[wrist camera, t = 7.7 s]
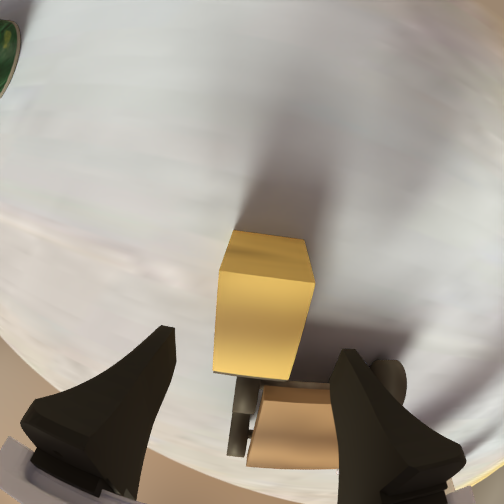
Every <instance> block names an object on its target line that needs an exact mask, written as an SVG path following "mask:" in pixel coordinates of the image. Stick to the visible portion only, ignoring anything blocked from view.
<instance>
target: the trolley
mask: <svg viewBox="0 0 504 504" xmlns="http://www.w3.org/2000/svg"><path fill="white" fill-rule="evenodd" d="M370 369H371V371H372V372H373V373H374V375H375V376H376V377H377V378H378V380H379V381H380V382H381V383H382V384H383V386H384V387H385V388H386V389H387V390H388V391H389V392H390V394H391V395H392V396H393V397H394V398H395V399H396V400H397V401H398V402H399V403H400V404H401V405H403V403H404V400H405V396H406V390H407V378H406V373H405V370H404V367H403V365H402V364H401V363H400V362H399V361H397V360H376V361H374V362H373V363H372V365H371V366H370ZM259 389H261V390H263V393H262V398H261V402H260V406H259V410H258V414H257V418H256V422H255V426H254V430H249V422H250V414H254V413H255V409H256V405H257V399H258V393H259ZM232 412H233V413H232V420H231V427H230V434H229V442H228V449H227V456H235V457H244V456H245V451H246V445H247V439H248V438H250V439H251V442H250V446H249V450H248V454H247V463H246V466H248V467H259V468H274V469H339V454H338V441H337V435H336V429H335V424H334V418H333V412H332V407H331V401H330V383H316V382H300V381H287V380H286V382H284V381H273V380H263V379H255V378H246V377H239V376H237V380H236V387H235V395H234V402H233V410H232Z"/></svg>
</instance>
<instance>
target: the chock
mask: <svg viewBox="0 0 504 504" xmlns="http://www.w3.org/2000/svg"><path fill="white" fill-rule="evenodd" d="M314 287H315V279H314V275H313V272H312V268H311V264H310V260H309V256H308V252H307V249H306V245H305V241H304V240H302V239H295V238H288V237H281V236H274V235H266V234H259V233H252V232H244V231H237V230H233V232H232V235H231V238H230V241H229V244H228V247H227V249H226V252H225V255H224V258H223V261H222V264H221V267H220V269H219V279H218V292H217V306H216V321H215V337H214V354H213V373H218V374H225V375H231V376H239V377H246V378H255V379H263V380H273V381H284V382H286V380H288V379H289V376H290V373H291V370H292V366H293V363H294V360H295V356H296V353H297V350H298V346H299V343H300V339H301V336H302V332H303V329H304V325H305V321H306V318H307V314H308V310H309V306H310V303H311V299H312V295H313V291H314Z"/></svg>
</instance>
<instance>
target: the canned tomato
mask: <svg viewBox="0 0 504 504" xmlns="http://www.w3.org/2000/svg"><path fill="white" fill-rule="evenodd" d="M20 38H21V37H20V30H19V28H18V25H17V24H16V23H15V22H13V21H10V20H1V19H0V98H1V97H2V95H3V94H4V92H5V90H6V88H7V87H8V85H9V83H10V80H11V78H12V76H13V73H14V70H15V67H16V64H17V61H18V56H19V51H20Z"/></svg>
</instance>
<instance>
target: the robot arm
mask: <svg viewBox="0 0 504 504" xmlns="http://www.w3.org/2000/svg"><path fill="white" fill-rule="evenodd" d="M175 365H176V344H175V328H173V327H168V326H163V325H161V326H159V327H158V328H157V329H156V330H155V331H154V332H153V333H152V334H151V335H150V336H149V337H147V338H146V339H145V340H144V341H143V342H142V343H141V344H140V345H138V346H137V347H136V348H135V349H134V350H133V351H131V352H130V353H129V354H128V355H126V356H125V357H124V358H123V359H121V360H120V361H119V362H117V363H116V364H115V365H113V366H112V367H110V368H109V369H107V370H106V371H104V372H102V373H101V374H99V375H97V376H96V377H94V378H92V379H90V380H88V381H86V382H84V383H82V384H80V385H78V386H76V387H73V388H71V389H68V390H66V391H63V392H60V393H57V394H54V395H50V396H46V397H43V398H39V399H35V400H34V401H33V403H32V404H31V405H30V407H29V409H28V410H27V412H26V413H25V415H24V416H23V418H22V420H21V422H20V424H21V427H22V429H23V431H24V432H25V433H26V435H27V436H28V437H29V439H30V440H31V441H32V442H33V443H34V445H35V446H36V447H37V448H36V450H35V452H33V451H32V450H30V449H29V448H28V447H26V446H24V445H23V444H21V443H20V442H18V441H17V440H15V439H13V438H12V437H10V436H8V438H7V440H6V441H5V443H4V445H3V446H2V448H1V450H0V489H2V490H3V491H4V492H6V493H7V494H8V495H10V496H11V497H12V498H14V499H15V500H17V501H18V502H20V503H21V504H145V503H141V502H138V501H136V499H137V493H138V487H139V481H140V475H141V470H142V466H143V461H144V456H145V453H146V449H147V445H148V441H149V437H150V433H151V430H152V426H153V424H154V421H155V418H156V416H157V413H158V411H159V409H160V406H161V404H162V402H163V399H164V397H165V394H166V392H167V390H168V387H169V385H170V382H171V380H172V376H173V373H174V369H175ZM329 383H330V401H331V407H332V412H333V418H334V424H335V429H336V435H337V441H338V454H339V469H338V470H337V471H336V474H337V475H339V487H338V502H337V504H476V502H475V498H474V495H473V491H472V488H471V486H467V487H464V488H462V489H459V490H456V491H454V492H451V493H449V494H447V495H445V491H444V490H446V489H447V488H448V485H447V482H446V481H448V480H449V479H450V478H451V477H453V476H454V475H455V474H456V473H458V472H459V471H460V470H461V469H462V468H463V467H464V466H465V464H466V458H465V455H464V453H463V450H462V447H461V445H460V444H458V443H456V442H454V441H452V440H450V439H448V438H446V437H444V436H442V435H440V434H439V433H437V432H435V431H434V430H432V429H431V428H429V427H428V426H426V425H425V424H424V423H422V422H421V421H420V420H418V419H417V418H416V417H415V416H413V415H412V414H411V413H410V412H409V411H408V410H406V409H405V408H404V407H403V406H402V405H401V404H400V403H399V402H398V401H397V400H396V399H395V398H394V397H393V396H392V395H391V394H390V392H389V391H388V390H387V389H386V388H385V387H384V386H383V384H382V383H381V382H380V381H379V380H378V378H377V377H376V376H375V375H374V373H373V372H372V371H371V369H370V368H369V367H368V365H367V364H366V363H365V361H364V360H363V359H362V357H361V356H360V355H359V353H358V352H357V351H356V350H355V349H343V348H342V350H341V353H340V355H339V358H338V360H337V363H336V365H335V368H334V370H333V372H332V375H331V377H330V380H329Z"/></svg>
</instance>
